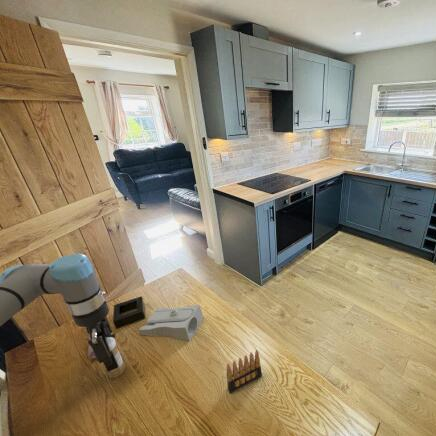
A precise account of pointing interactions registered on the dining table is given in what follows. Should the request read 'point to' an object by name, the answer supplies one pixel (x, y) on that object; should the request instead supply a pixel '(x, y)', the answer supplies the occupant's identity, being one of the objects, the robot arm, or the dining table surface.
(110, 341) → the sprinkles bottle
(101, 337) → the robot arm
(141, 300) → the bottle holder
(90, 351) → the coil
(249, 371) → the ammunition clip
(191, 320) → the wedge sharpener
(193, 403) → the dining table surface
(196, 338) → the dining table surface
